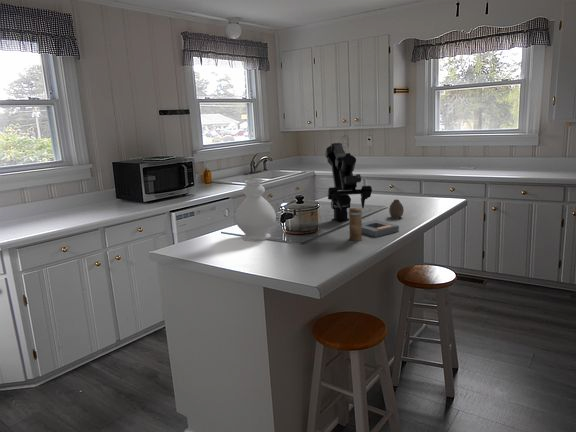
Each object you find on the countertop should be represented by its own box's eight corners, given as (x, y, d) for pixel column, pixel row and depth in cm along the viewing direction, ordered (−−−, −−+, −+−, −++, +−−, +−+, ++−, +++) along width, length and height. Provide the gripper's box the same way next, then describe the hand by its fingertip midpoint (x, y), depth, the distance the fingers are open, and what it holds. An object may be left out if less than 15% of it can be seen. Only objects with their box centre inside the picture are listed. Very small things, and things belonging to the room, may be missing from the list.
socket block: (353, 230, 208) (353, 224, 207) (376, 225, 215) (376, 219, 214) (375, 236, 196) (375, 230, 196) (398, 231, 204) (398, 225, 203)
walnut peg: (346, 239, 195) (346, 208, 192) (356, 236, 198) (355, 207, 195) (355, 241, 191) (354, 210, 188) (364, 239, 193) (364, 209, 190)
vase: (387, 218, 228) (387, 200, 226) (391, 215, 234) (391, 198, 232) (401, 219, 224) (401, 201, 222) (404, 216, 230) (405, 198, 228)
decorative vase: (248, 245, 191) (244, 185, 186) (229, 236, 206) (225, 181, 200) (284, 237, 201) (282, 180, 195) (263, 229, 215) (260, 176, 210)
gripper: (327, 169, 198) (332, 199, 190) (371, 166, 199) (377, 196, 191) (325, 184, 208) (330, 213, 199) (366, 182, 209) (372, 211, 200)
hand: (352, 208), depth 197 cm, fingers open, 9 cm apart
